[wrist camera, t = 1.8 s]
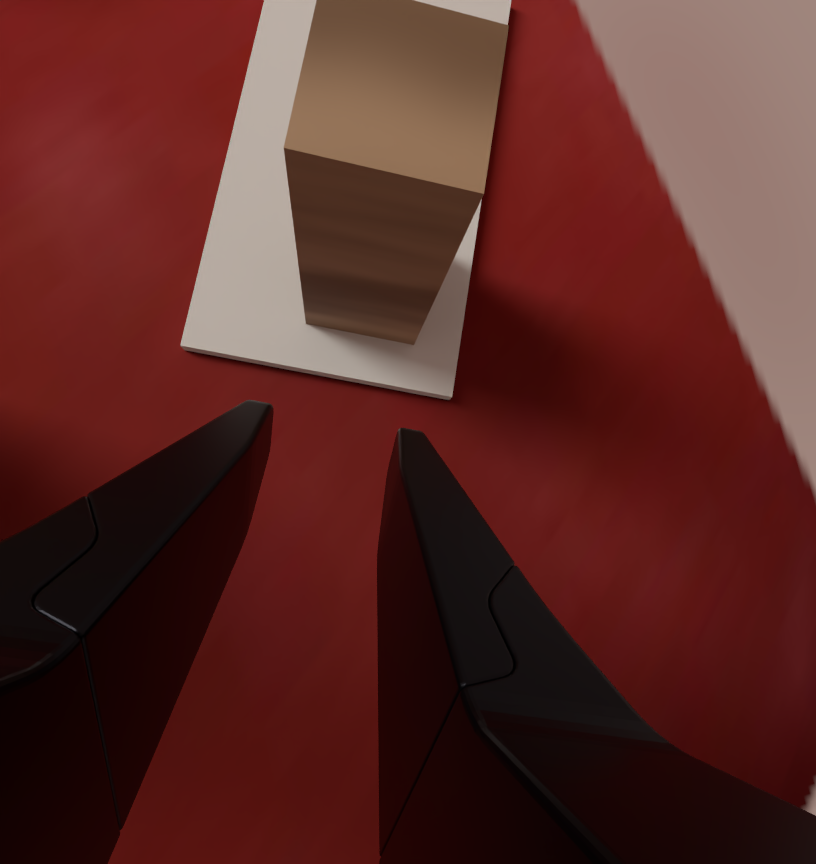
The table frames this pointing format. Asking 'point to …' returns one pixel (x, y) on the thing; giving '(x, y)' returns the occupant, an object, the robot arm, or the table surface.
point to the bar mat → (276, 248)
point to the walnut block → (388, 157)
